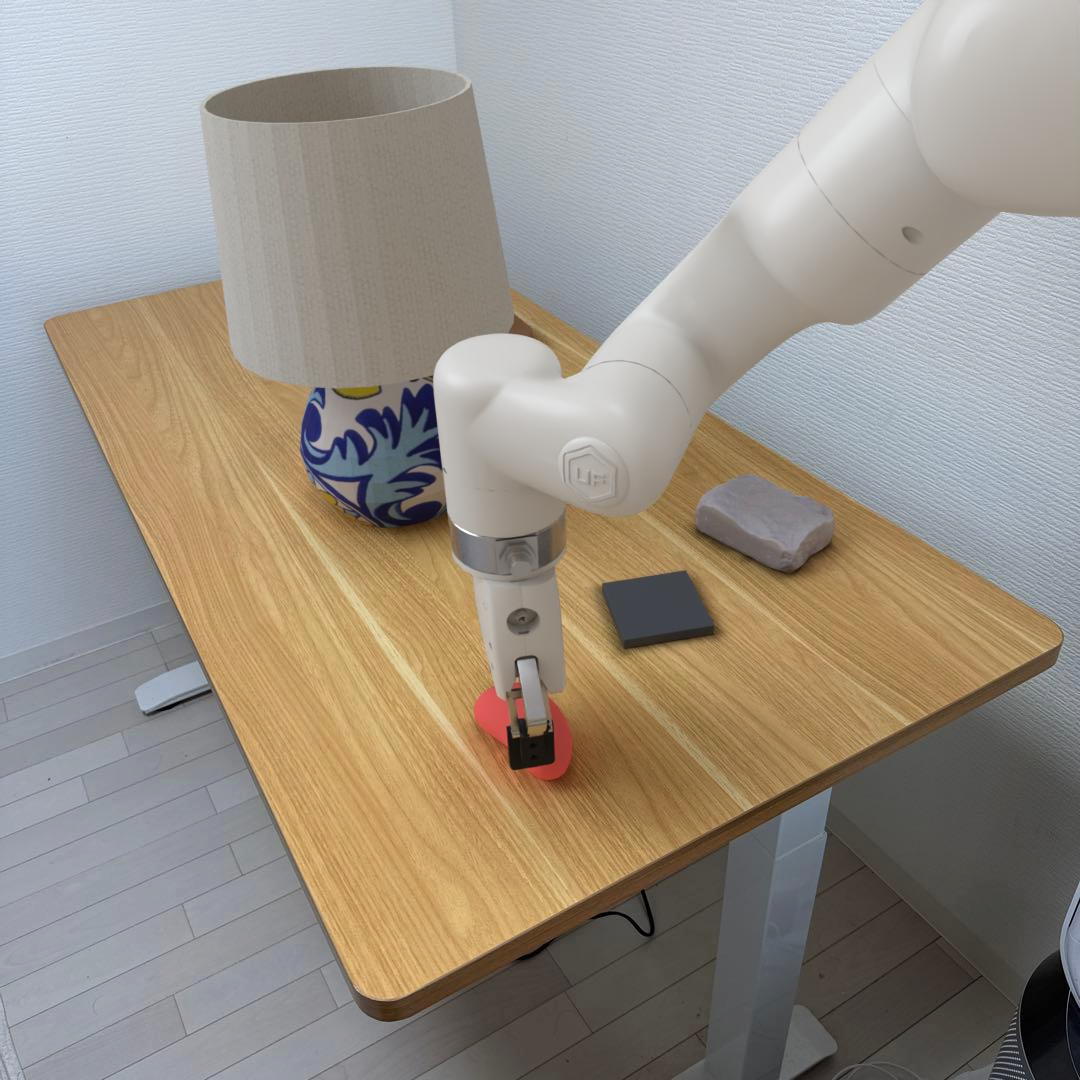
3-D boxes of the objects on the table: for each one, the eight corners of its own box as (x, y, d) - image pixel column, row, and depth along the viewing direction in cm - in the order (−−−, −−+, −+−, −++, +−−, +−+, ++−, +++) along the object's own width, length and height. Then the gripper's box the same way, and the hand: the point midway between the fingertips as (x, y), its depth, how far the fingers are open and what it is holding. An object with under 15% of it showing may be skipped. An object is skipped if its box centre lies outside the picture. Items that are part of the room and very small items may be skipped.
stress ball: (547, 711, 78) (506, 656, 76) (601, 750, 70) (557, 690, 68) (500, 754, 77) (456, 700, 75) (549, 800, 69) (502, 740, 67)
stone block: (744, 505, 102) (684, 529, 95) (754, 464, 99) (694, 486, 93) (840, 556, 95) (783, 585, 88) (854, 513, 92) (796, 539, 86)
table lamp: (288, 440, 114) (203, 73, 91) (515, 419, 116) (489, 52, 92) (257, 580, 92) (134, 143, 69) (537, 552, 94) (510, 115, 70)
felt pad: (685, 578, 89) (686, 569, 89) (713, 634, 83) (714, 625, 82) (601, 591, 89) (601, 583, 88) (624, 648, 82) (624, 640, 82)
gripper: (596, 604, 55) (596, 797, 65) (540, 452, 69) (547, 631, 79) (466, 623, 54) (487, 816, 64) (436, 466, 68) (457, 645, 78)
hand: (520, 714), depth 72 cm, fingers open, 9 cm apart
